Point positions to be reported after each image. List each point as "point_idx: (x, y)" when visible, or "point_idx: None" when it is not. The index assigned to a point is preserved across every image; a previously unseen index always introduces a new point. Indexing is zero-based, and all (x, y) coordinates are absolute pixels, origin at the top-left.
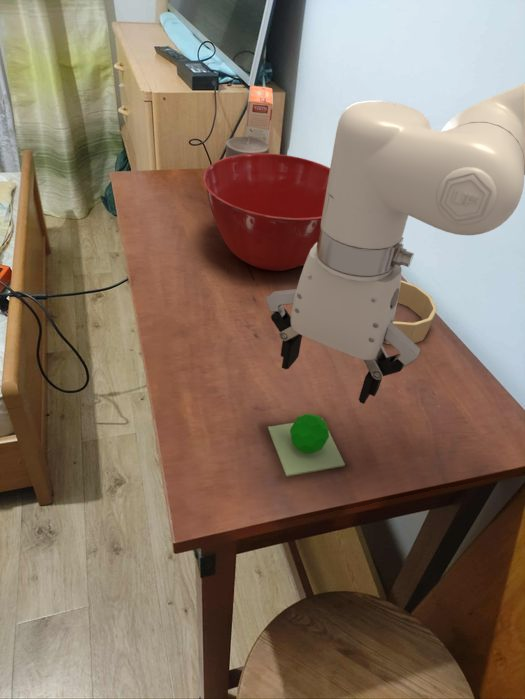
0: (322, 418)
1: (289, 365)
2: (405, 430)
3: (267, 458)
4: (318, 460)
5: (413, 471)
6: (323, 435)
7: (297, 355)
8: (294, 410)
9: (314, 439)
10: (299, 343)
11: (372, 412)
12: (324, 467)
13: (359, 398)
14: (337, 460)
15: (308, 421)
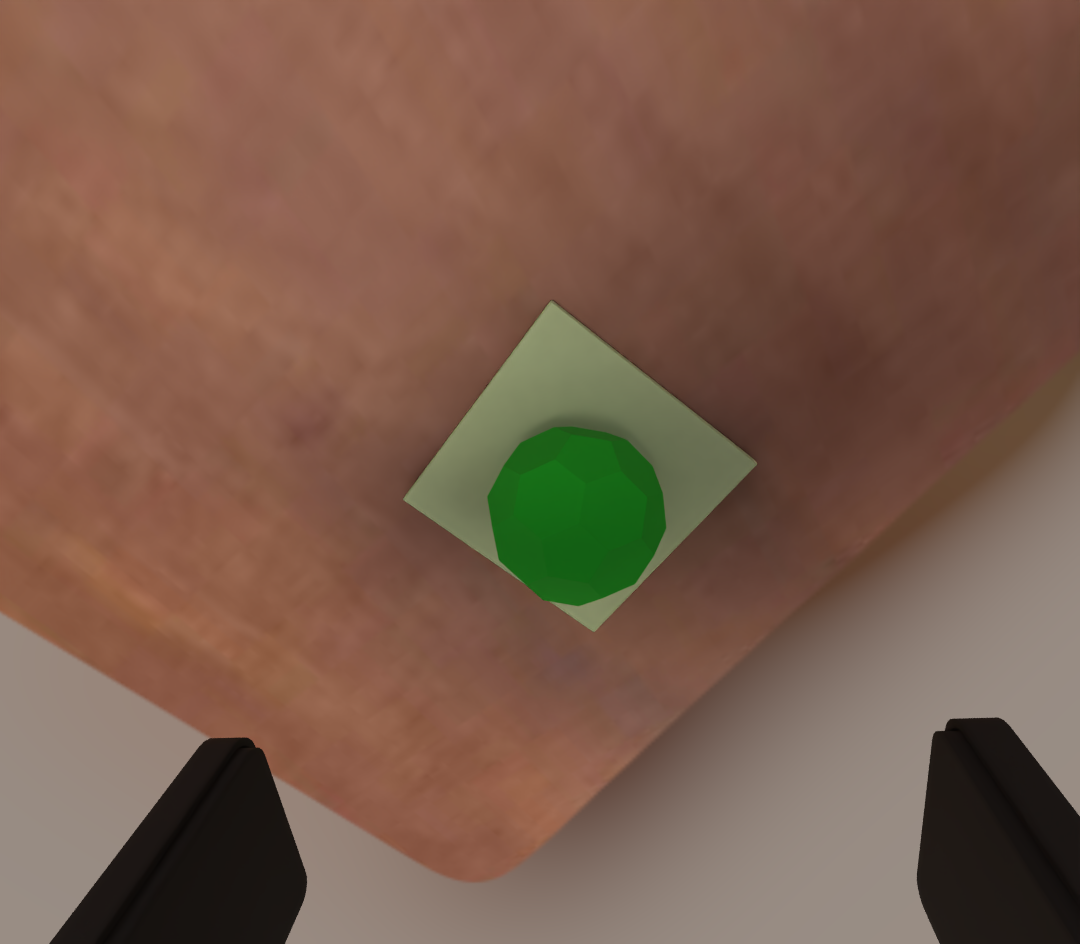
0: (551, 302)
1: (290, 888)
2: (957, 35)
3: (495, 602)
4: None
5: (1052, 282)
6: (650, 548)
7: (249, 785)
8: (421, 334)
9: (626, 586)
10: (165, 932)
11: (742, 45)
12: (692, 528)
13: (935, 920)
14: (721, 467)
15: (559, 569)
